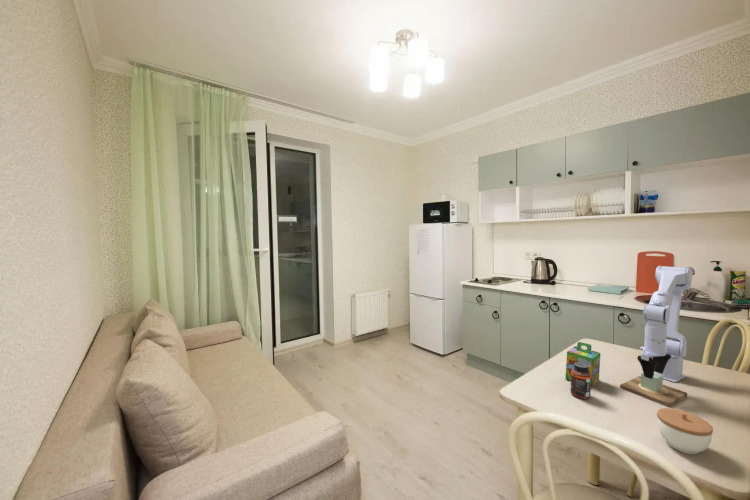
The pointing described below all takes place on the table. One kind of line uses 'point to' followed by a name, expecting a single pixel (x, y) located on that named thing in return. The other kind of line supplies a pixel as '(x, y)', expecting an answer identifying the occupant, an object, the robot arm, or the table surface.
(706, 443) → the lidded jar
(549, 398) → the table surface
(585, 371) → the supplement bottle
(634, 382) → the rest board
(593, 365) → the chalk box
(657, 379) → the block
